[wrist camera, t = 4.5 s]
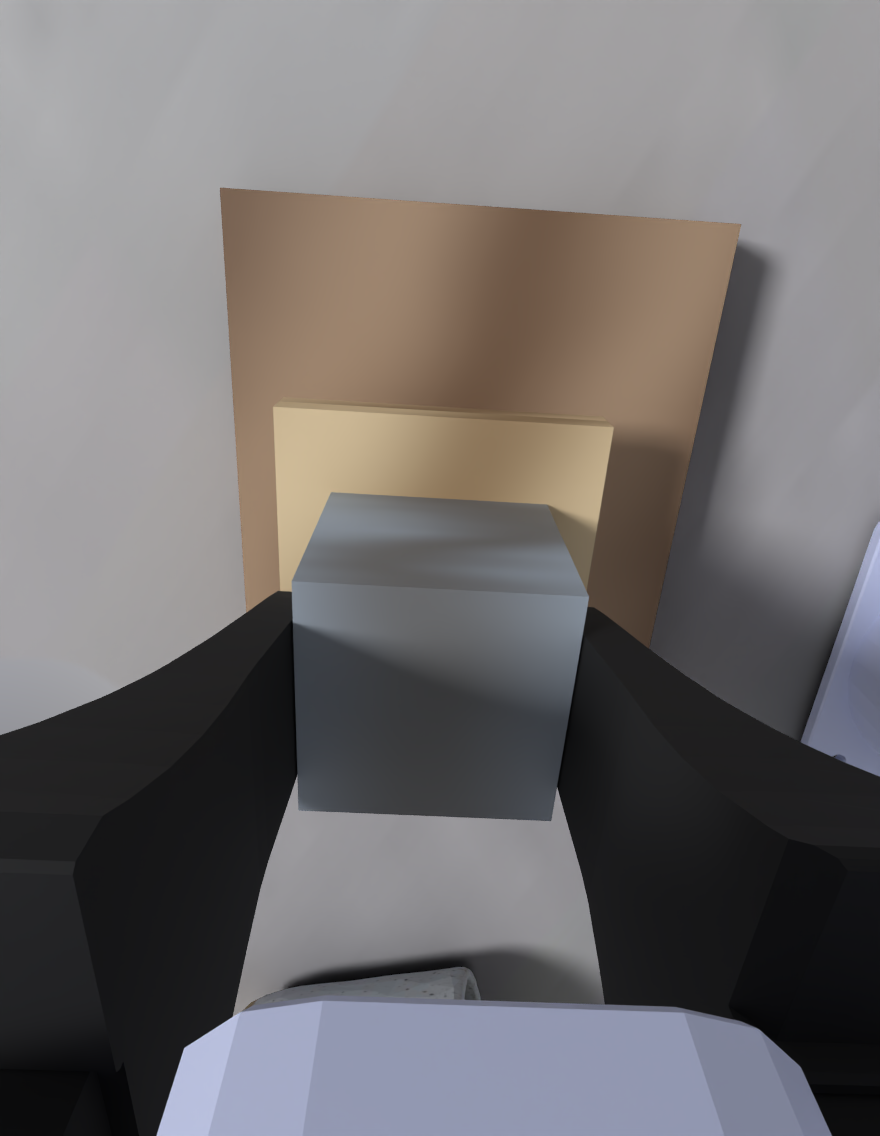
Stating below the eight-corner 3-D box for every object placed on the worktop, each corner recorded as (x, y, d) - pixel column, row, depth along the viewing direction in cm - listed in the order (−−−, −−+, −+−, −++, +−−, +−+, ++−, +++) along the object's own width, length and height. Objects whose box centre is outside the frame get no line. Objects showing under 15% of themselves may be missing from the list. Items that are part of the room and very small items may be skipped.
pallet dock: (712, 227, 15) (741, 223, 13) (617, 695, 20) (631, 728, 18) (240, 194, 14) (219, 187, 13) (265, 678, 19) (252, 710, 18)
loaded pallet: (602, 416, 13) (685, 495, 9) (554, 719, 16) (598, 890, 12) (283, 396, 13) (207, 467, 8) (293, 707, 16) (240, 876, 11)
